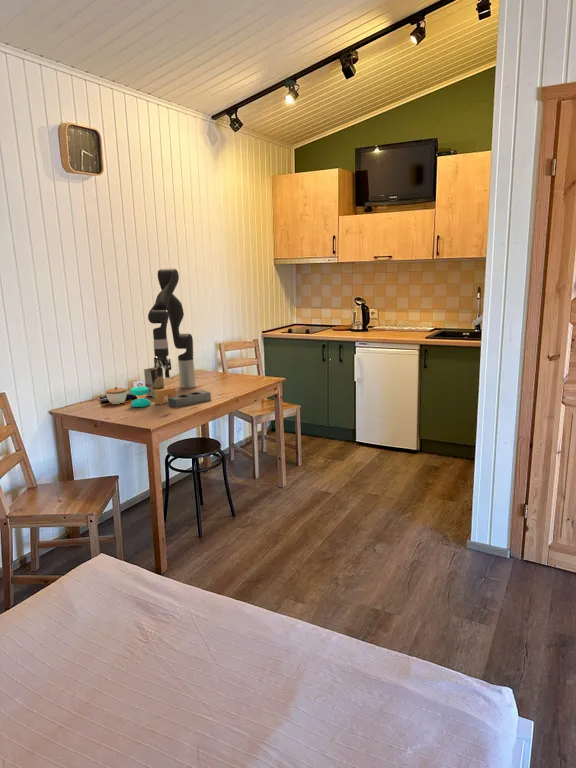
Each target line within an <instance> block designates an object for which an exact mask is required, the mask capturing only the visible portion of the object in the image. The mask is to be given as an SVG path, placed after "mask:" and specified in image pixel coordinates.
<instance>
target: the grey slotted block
mask: <svg viewBox="0 0 576 768" xmlns="http://www.w3.org/2000/svg"><path fill="white" fill-rule="evenodd" d="M211 393H212V392H210V391H207V390H203V389H202V390H199V391H194V392H188V393H183V394H179V395H176V396H173V397H168V396H167V403H168V405H169V406H168V407H171V406H172V407H171V408H174V407H175V409H178V408H177V407H179V408H182V407H181V406H183V407H186V405H188V406H191V405H190V404H192V405H197V404H201V403H205V401H206V402H209V400H210V401H212V397H211V395H212V394H211ZM200 402H201V403H200ZM196 403H197V404H196Z"/></svg>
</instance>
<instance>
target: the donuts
mask: <svg viewBox="0 0 576 768" xmlns="http://www.w3.org/2000/svg"><path fill="white" fill-rule="evenodd" d="M148 392H149V388H148V387H146V386H142V385H141V386H134V387H132V388H130V389H129V394H130V395H132V396H144V395H146V394H147V393H148ZM150 405H151V401H150V400H149V399H148V398H143V397H142V398H135V399H133V400H132V401H131V403H130V406H132V407H133V408H135V407H141V408H146V407H148V406H150ZM145 406H146V407H145Z"/></svg>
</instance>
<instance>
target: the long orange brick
mask: <svg viewBox="0 0 576 768" xmlns="http://www.w3.org/2000/svg"><path fill="white" fill-rule="evenodd" d="M176 392H177V391H176V387H173V386H169V387H164V389H159V390H154V394H155V397H154V403H156V404H155V405H158V404H160V405H164V396H167V398H168V397H173V396H177V393H176Z"/></svg>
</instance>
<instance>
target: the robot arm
mask: <svg viewBox="0 0 576 768" xmlns="http://www.w3.org/2000/svg"><path fill="white" fill-rule="evenodd" d="M179 279H180V277H179V271H178V270H177V269H176V268H161V269H160V268H159V269H158V271H157V280H158V284H159V286H160V289H161V291H160V292H159V293H158V294H157V296H156V299H155V303H154V304H153V306H152V307H151V309H150V310H149V312H148V314H147V318H148V319H147V320H148V321H149V323H151V324H152V325H154V324H160V326H158V327H156V328H155V327H154V328H153V329H152V334H153V335H152V337H153V352H154V354H153V355H154V357H153V362H154V363H153V364H154V366H153V368H154V367H155V368H156V369H157V375H158V376H161V375H162V372H161V368H163V371H164V377H165V379H167V378H170V377H171V376H170V370H172V362H171V361H172V360H171V359H170V358H168V356H169V355H170V353H169V342H168V337H167V336H168V335H167V327H168V323H169V324H170V327H171V332H172V338H173V339H172V340H173V345H174V347H175V349H177V350H181V349H183V350H185V352H184V353H180V354H178V356H177V363H178V378H179V380H178V381H179V387H180V389H192V388H195V387H196V377H195V364H194V342H193V335H192V334H191V333H180V326H181V323H182V321H183V319H184V317H185V313H184V308H183V303H182V302H181V301H180V299H179V298H178V297H177V296H176V295H175V294H174V291H175V289H176V288H177V285H178V283H179Z"/></svg>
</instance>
